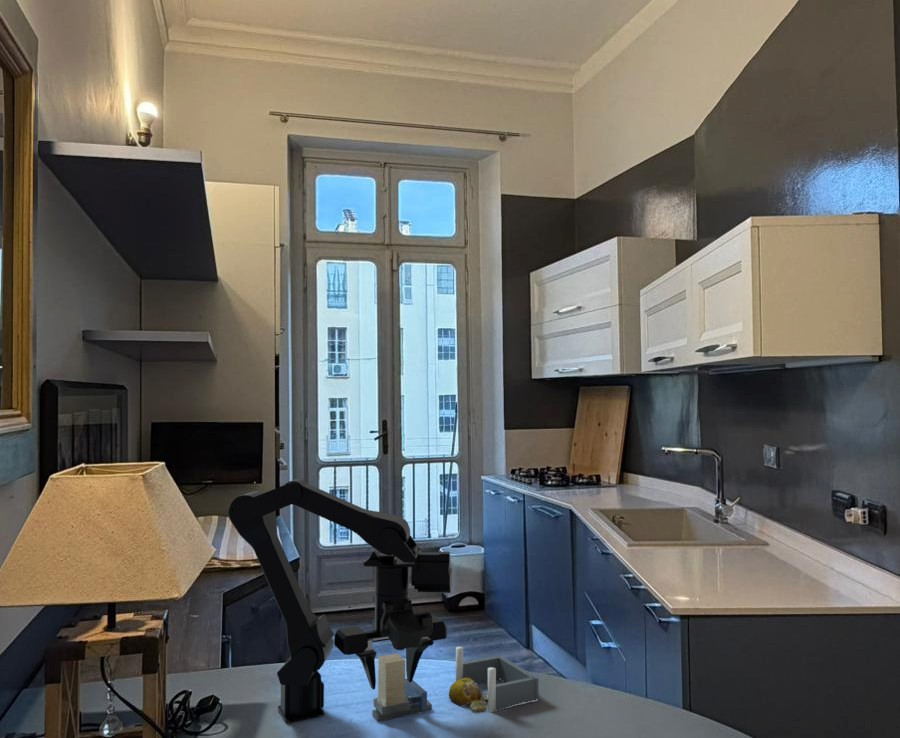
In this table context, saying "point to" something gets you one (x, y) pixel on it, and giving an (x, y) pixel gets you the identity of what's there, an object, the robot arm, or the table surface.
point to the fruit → (467, 694)
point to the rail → (400, 712)
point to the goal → (516, 679)
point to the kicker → (396, 687)
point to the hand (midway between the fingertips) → (391, 685)
